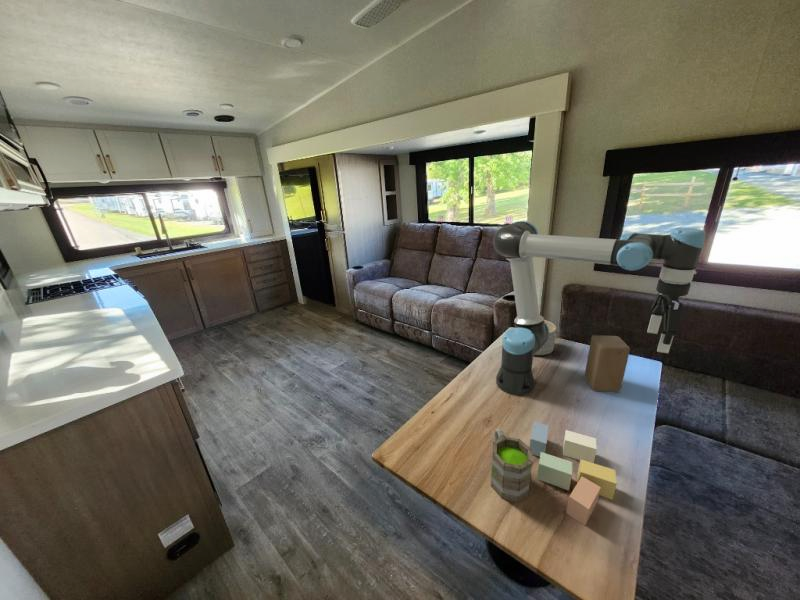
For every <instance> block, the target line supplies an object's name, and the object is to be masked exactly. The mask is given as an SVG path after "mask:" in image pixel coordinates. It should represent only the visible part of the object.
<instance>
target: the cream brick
mask: <svg viewBox="0 0 800 600" xmlns="http://www.w3.org/2000/svg"><path fill="white" fill-rule="evenodd" d="M564 432H565V433H564V437H563V445H562V446H563V447H562V456H565V457H569V458H572V459H575V460H578V461H580V460H581V459H582V460H585V461H588V462H591V463H594V464H595V458H596V453H597V449H598V448H597V438H596V437H592V436H589V435H585V434H581V433H579V432H574V431H572V430H571V431H570V430H568V429H566V430H565V431H564Z"/></svg>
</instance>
